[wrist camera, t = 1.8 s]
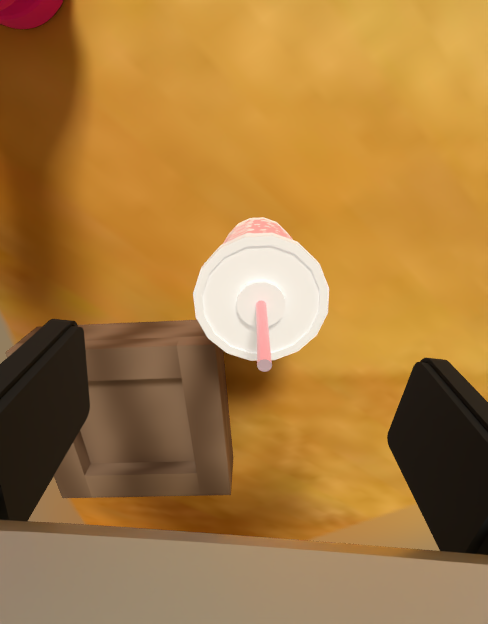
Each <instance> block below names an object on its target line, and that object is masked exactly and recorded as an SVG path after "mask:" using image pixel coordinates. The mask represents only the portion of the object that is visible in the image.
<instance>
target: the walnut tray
mask: <svg viewBox="0 0 488 624" xmlns="http://www.w3.org/2000/svg"><path fill="white" fill-rule="evenodd" d="M78 327H82V328H83V330H84V338H85V350H86V362H87V375H88V387H89V399H90V410H89V414H88V417H87V419H86V421H85V423H84V424H83V426H82V428H81V430H80V431H79V433H78V435H77V436H76V438H75V440H74V442H73V443H72V445H71V447H70V449H69V450H68V452H67V454H66V455H65V457H64V459H63V461H62V462H61V464H60V466H59V467H58V469H57V471H56V473H55V474H54V478H55V480H56V483H57V485H58V488H59V490H60V493H61V496H62V498H90V497H143V496H197V495H231V484H232V469H233V450H232V439H231V429H230V418H229V408H228V397H227V387H226V376H225V366H224V355H223V350H222V349H221V348H220V347H218V346H217V345H216V344H215V343H213V342H212V341H211V340H209V339H208V337H207V336H206V334H205V332H204V331H203V329H202V327H201V325H200V324H199V322H198V320H185V321H161V322H138V323H114V324H91V325H78ZM41 328H42V327H36V328H35V329H34V330H33V331H31V332H30V333H29V334H28V335H26V336H25V337H24V338H23V339H21V340H20V341H19V342H18V343H16V344H15V345H14V346H13V347H11V348H10V349H9V350H8V351H6V355H7V358H8V357H9V356H10V355H11V354H12V353H13V352H15V351H16V350H17V349H18V348H19V347H20V346H21V345H22V344H24V343H25V342H26V341H27V340H28V339H29V338H30V337H31V336H33V335H34V334H35V333H36V332H37V331H38V330H39V329H41Z"/></svg>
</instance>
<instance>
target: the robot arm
mask: <svg viewBox="0 0 488 624" xmlns="http://www.w3.org/2000/svg"><path fill="white" fill-rule="evenodd" d="M89 410H90V399H89V387H88V375H87V362H86V350H85V338H84V330H83V328H82V327H78V325H77V323H76V322H75V321H69V320H59V319H51V320H50V321H48V322H47V323H46V324H45V325H44V326H43V327H42V328H41V329H39V330H38V331H37V332H36V333H35V334H34V335H33V336H31V337H30V338H29V339H28V340H27V341H26V342H25V343H24V344H22V345H21V346H20V347H19V348H18V349H17V350H16V351H15V352H13V353H12V354H11V355H10V356H9V357H8V358H7V359H6V360H4V361H3V362H2V363H1V364H0V624H488V402H487V401H486V400H485V399H484V398H483V397H482V396H481V395H480V394H479V393H478V392H477V391H476V390H475V389H474V387H473V386H472V385H471V384H470V383H469V382H468V381H467V380H466V379H465V378H464V377H463V376H462V375H461V374H460V373H459V372H458V371H457V370H456V369H455V368H454V367H453V366H452V365H451V364H450V363H449V362H448V361H447V360H442V359H432V358H424V359H422V360H421V361H420V362H417V363H416V364H415V365H414V367H413V370H412V372H411V375H410V377H409V380H408V383H407V385H406V388H405V390H404V393H403V395H402V398H401V401H400V403H399V406H398V408H397V411H396V414H395V416H394V419H393V421H392V424H391V427H390V429H389V432H388V437H387V438H388V445H389V447H390V449H391V451H392V453H393V455H394V457H395V459H396V462H397V464H398V466H399V468H400V470H401V472H402V474H403V476H404V478H405V480H406V482H407V484H408V486H409V488H410V490H411V492H412V494H413V496H414V498H415V500H416V502H417V504H418V507H419V509H420V511H421V512H422V515H423V516H424V519H425V521H426V523H427V525H428V527H429V529H430V531H431V533H432V535H433V537H434V539H435V541H436V543H437V545H438V547H439V549H440V551H432V550H420V549H408V548H396V547H382V546H371V545H359V544H358V545H357V544H346V543H332V542H319V541H306V540H293V539H280V538H267V537H253V536H240V535H226V534H213V533H199V532H185V531H170V530H156V529H142V528H127V527H113V526H98V525H84V524H68V523H49V522H47V523H46V522H29V521H28V519H29V517H30V516H31V514H32V512H33V511H34V509H35V507H36V505H37V504H38V502H39V500H40V498H41V497H42V495H43V493H44V492H45V490H46V488H47V486H48V485H49V483H50V481H51V480H52V478H53V476H54V474H55V473H56V471H57V469H58V467H59V466H60V464H61V462H62V461H63V459H64V457H65V455H66V454H67V452H68V450H69V449H70V447H71V445H72V443H73V442H74V440H75V438H76V436H77V435H78V433H79V431H80V430H81V428H82V426H83V424H84V423H85V421H86V419H87V417H88V414H89Z"/></svg>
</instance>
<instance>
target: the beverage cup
mask: <svg viewBox="0 0 488 624" xmlns="http://www.w3.org/2000/svg"><path fill="white" fill-rule="evenodd" d="M193 297H194V305H195V314H196V319H197V320H198V322H199V324H200V325H201V327H202V329H203V331H204V332H205V334H206V336H207V337H208V339H209V340H211V341H212V342H213V343H215V344H216V345H217V346H218V347H220V348H221V349H222V350H224V351H225V352H226V353H228V354H231V355H234V356H237V357H240V358H244V359H247V360H250V361H257V367H258V369H259V370H260V371H263V372H266V371H269V370H270V369H271V367H272V361H271V360H276V359H279V358H282V357H284V356H287V355H289V354H292V353H295V352H297V351H299V350H300V349H301V348H302V347H303V346H305V345H306V344H307V343H308V342H309V341H310V340H311V339H313V338H314V337H315V336H316V335H317V333H318V331H319V329H320V327H321V325H322V324H323V322H324V320H325V318H326V316H327V314H328V300H329V287H328V284H327V282H326V279H325V277H324V274H323V272H322V269H321V266H320V264H319V262H317V261H316V259H315V258H314V257H313V256H312V255H311V254H310V253H309V252H308V251H307V250H305V249H304V248H303V247H302V246H301V245H300V244H299V243H298V242H297V241H294V240H293V239H292V238H291V237H290V236H289V234H288V233H287V232H286V231H285V230H284V229H283V228H282V227H281V226H280V225H279V224H278V223H277V222H275V221H272V220H269V219H267V218H264V217H263V218H249V219H247V220H245V221H243V222H241V223H239V224H237V225H236V227H235V228H234V229H233V230H232V231H231V232H230V233H229V235H228V236H227V238H226V239H225V241H224V243H223V244H222V245H220V247H219V248H218V249H217V250H216V251H215V252H214V253H213V254H212V256H211V257H210V258H209V259H208V260H207V261H206V262H205V263H204V265H203V266H202V268H201V270H200V273H199V277H198V280H197V283H196V286H195V289H194V292H193Z"/></svg>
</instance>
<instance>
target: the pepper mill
mask: <svg viewBox="0 0 488 624" xmlns="http://www.w3.org/2000/svg"><path fill="white" fill-rule="evenodd" d="M62 2H63V0H0V24H2V25H4V26H7V27H11V28H16V29H30V28H35V27H37V26H40V25H42V24H44V23H45V22H47V21H48V20H49V19H50V18H52V17H53V16H54V14H55V13H56V12H57V10H58V9H59V8H60V7H61V5H62Z"/></svg>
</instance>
